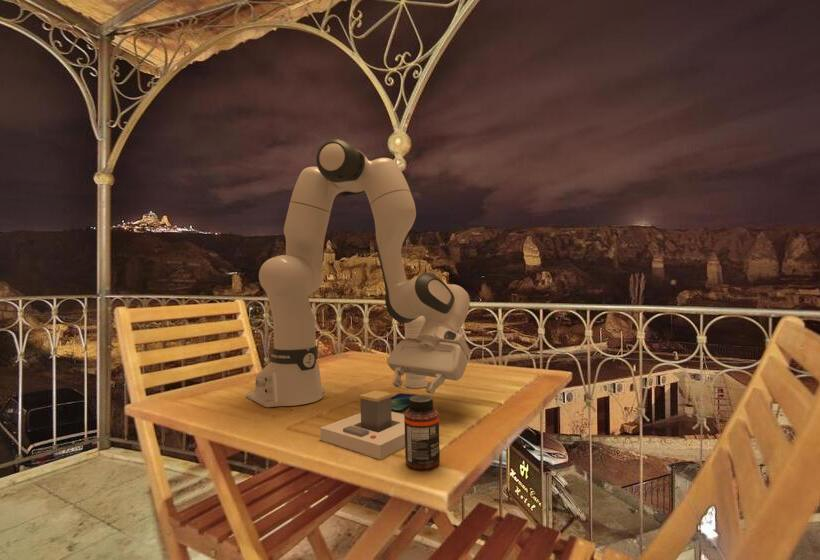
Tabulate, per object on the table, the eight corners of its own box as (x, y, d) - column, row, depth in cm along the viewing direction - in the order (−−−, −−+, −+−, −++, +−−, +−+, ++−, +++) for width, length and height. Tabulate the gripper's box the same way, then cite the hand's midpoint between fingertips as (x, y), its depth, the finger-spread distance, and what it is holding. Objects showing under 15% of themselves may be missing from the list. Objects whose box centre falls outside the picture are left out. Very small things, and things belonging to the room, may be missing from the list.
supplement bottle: (412, 454, 75) (411, 391, 75) (444, 459, 73) (442, 394, 73) (399, 468, 69) (398, 400, 69) (433, 473, 67) (432, 403, 67)
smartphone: (424, 395, 113) (401, 410, 99) (424, 398, 113) (401, 414, 99) (398, 393, 116) (373, 407, 102) (398, 396, 116) (373, 411, 102)
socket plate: (320, 440, 83) (320, 424, 83) (374, 418, 95) (374, 405, 95) (380, 459, 73) (380, 442, 73) (431, 432, 86) (431, 417, 86)
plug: (360, 434, 84) (359, 395, 84) (375, 428, 87) (374, 390, 88) (377, 439, 81) (376, 398, 81) (392, 432, 85) (391, 393, 85)
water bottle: (402, 388, 123) (401, 303, 123) (408, 383, 129) (407, 302, 129) (431, 389, 120) (430, 303, 121) (436, 384, 127) (434, 302, 127)
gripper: (397, 330, 106) (371, 375, 99) (466, 335, 94) (443, 387, 86) (407, 345, 110) (384, 389, 102) (476, 352, 97) (455, 403, 90)
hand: (412, 388), depth 94 cm, fingers open, 8 cm apart
